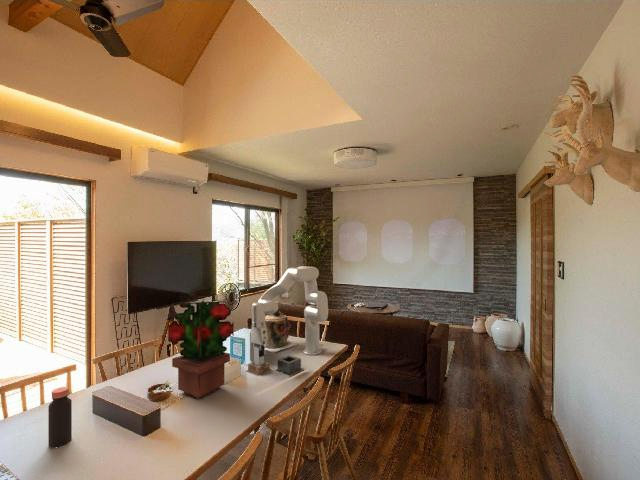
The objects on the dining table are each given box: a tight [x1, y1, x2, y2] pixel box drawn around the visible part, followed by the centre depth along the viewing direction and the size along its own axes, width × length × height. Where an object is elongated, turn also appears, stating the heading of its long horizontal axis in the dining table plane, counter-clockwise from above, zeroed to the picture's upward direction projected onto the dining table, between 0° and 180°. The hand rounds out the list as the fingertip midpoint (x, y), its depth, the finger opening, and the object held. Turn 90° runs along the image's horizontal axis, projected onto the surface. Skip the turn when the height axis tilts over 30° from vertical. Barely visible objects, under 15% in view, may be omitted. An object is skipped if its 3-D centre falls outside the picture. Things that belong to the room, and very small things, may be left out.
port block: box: [274, 354, 305, 378], centre depth 185 cm, size 12×12×7 cm
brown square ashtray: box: [245, 360, 272, 377], centre depth 184 cm, size 11×11×5 cm
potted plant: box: [167, 298, 235, 400], centre depth 161 cm, size 22×22×45 cm
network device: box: [249, 331, 267, 362], centre depth 207 cm, size 26×9×20 cm, turn 179°
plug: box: [253, 344, 265, 366], centre depth 184 cm, size 4×4×12 cm
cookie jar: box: [264, 300, 299, 354], centre depth 231 cm, size 25×25×32 cm
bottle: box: [47, 386, 73, 449], centre depth 120 cm, size 7×7×20 cm
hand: (259, 355), depth 184 cm, fingers closed on plug, 4 cm apart
